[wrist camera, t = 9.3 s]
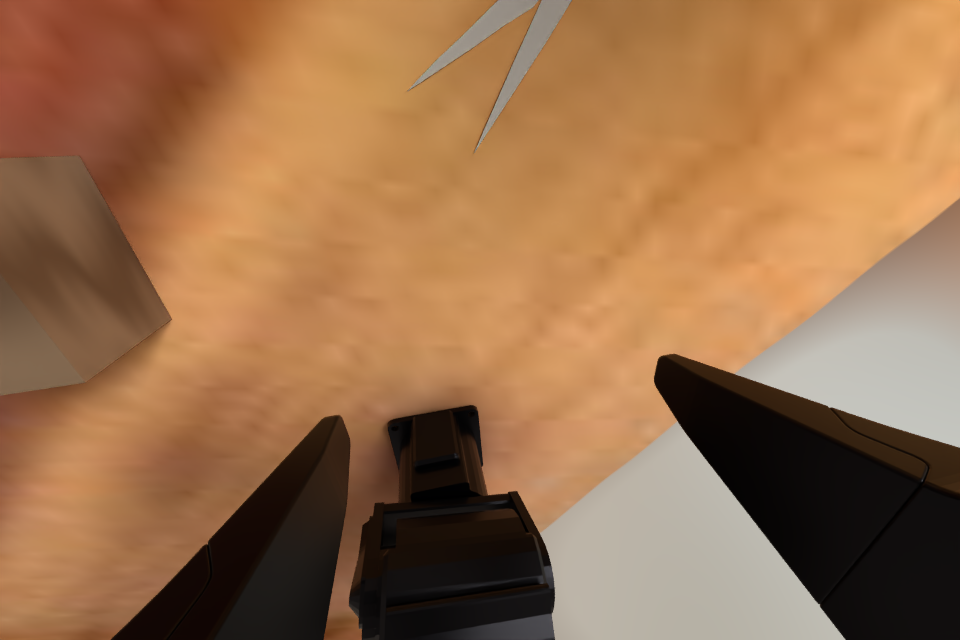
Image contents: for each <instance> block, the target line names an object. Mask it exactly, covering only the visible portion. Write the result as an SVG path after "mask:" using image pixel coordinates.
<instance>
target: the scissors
mask: <svg viewBox="0 0 960 640" xmlns="http://www.w3.org/2000/svg"><path fill="white" fill-rule="evenodd" d="M571 1H572V0H542V1H541V3H540V5H539V8H538V10H537V12H536V14H535V16H534V18H533V21H532V23H531V25H530V27H529V29H528V32H527V34H526V36H525V38H524V40H523V43H522V45H521V47H520V49H519V51H518V54H517V56H516V58H515V60H514V63H513V65H512V67H511V69H510V72H509V74H508V76H507V79H506V81H505V83H504V85H503V88H502V90H501V92H500V95H499V97H498V99H497V102H496V104H495V106H494V108H493V111H492V113H491V115H490V118H489V120H488V122H487V124H486V127H485V129H484V131H483V134H482V136H481V138H480V140H479V143H478V145H477V147H476V150H477V148H478V147H479V145H480V143H481V142H482V140H483V139H484V137H485V136H486V134H487V133H488V131H489V130H490V128H491V127H492V125H493V123H494V122H495V120H496V119H497V117H498V116H499V114H500V113H501V111H502V110H503V108H504V106H505V105H506V103H507V102H508V100H509V99H510V97H511V96H512V94H513V93H514V91H515V90H516V88H517V86H518V85H519V83H520V82H521V80H522V79H523V77H524V76H525V74H526V73H527V71H528V69H529V68H530V66H531V65H532V63H533V62H534V60H535V59H536V57H537V56H538V54H539V52H540V51H541V49H542V48H543V46H544V45H545V43H546V42H547V40H548V38H549V37H550V35H551V33H552V32H553V30H554V29H555V27H556V25H557V24H558V22H559V20H560V19H561V17H562V15H563V14H564V12H565V11H566V9H567V7H568V6H569V4H570V2H571ZM537 2H538V0H498V1H497V2H496V3H495V4H494V5H493V6H492V7H491V8H490V9H489V10H488V11H487V12H486V13H485V14H484V15H483V16H482V17H481V18H480V19H479V20H478V21H477V22H476V23H475V24H474V25H473V26H472V27H471V28H470V29H469V30H468V31H467V32H466V33H465V34H464V35H462V36H461V37H460V38H459V39H458V40H457V41H456V42H455V43H454V44H453V45H452V46H451V47H450V48H449V49H448V50H447V51H446V52H445V53H444V54H442V55H441V56H440V57H439V58H438V59H437V60H436V61H435V62H434V63H433V64H432V65H431V66H430V67H429V68H428V69H427V71H426V72H425V73H424V74H423V75H422V76H421V77H420V78H419V79H418V80H417V81H416V82H415V83H414V84H413V86H412V87H411V88H413V87H415V86H416V85H418V84H419V83H421V82H422V81H424V80H425V79H427V78H428V77H430V76H431V75H433V74H434V73H436V72H437V71H439V70H440V69H442V68H443V67H445V66H446V65H448V64H449V63H451V62H452V61H454V60H455V59H457V58H458V57H460V56H461V55H463V54H464V53H466V52H467V51H469V50H470V49H472V48H473V47H475V46H476V45H478V44H479V43H480V42H482V41H483V40H485V39H486V38H487V37H489V36H490V35H491V34H493V33H494V32H496V31H497V30H498V29H500V28H501V27H503V26H504V25H506V24H507V23H509V22H511V21H512V20H514V19H515V18H517V17H519V16H520V15H522V14H523V13H525V12H527V11H528V10H530V9H531V8H533V7H534V5H535V4H536V3H537ZM411 88H410V89H411ZM410 89H409V90H410ZM476 150H475V151H476ZM474 153H475V152H474Z"/></svg>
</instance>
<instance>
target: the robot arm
mask: <svg viewBox="0 0 960 640" xmlns="http://www.w3.org/2000/svg"><path fill="white" fill-rule="evenodd" d="M654 383H655V386H656V388H657V389H658V391H659V393H660V394H661V396H662V397H663V399H664V400H665V402H666V404H667V405H668V407H669V408H670V410H671V411H672V413H673V415H674V416H675V418H676V419H677V421H678V423H679V424H680V426H681V427H682V429H683V430H684V431H685V433H686V434H687V435H688V437H689V438H690V440H691V441H692V442H693V443H694V445H695V446H696V447H697V449H698V450H699V451H700V452H701V454H702V455H703V456H704V457H705V459H706V460H707V461H708V463H709V464H710V465H711V466H712V468H713V469H714V470H715V472H716V473H717V474H718V476H719V477H720V478H721V479H722V481H723V482H724V483H725V485H726V486H727V487H728V488H729V490H730V491H731V492H732V493H733V495H734V496H735V497H736V499H737V500H738V501H739V503H740V504H741V505H742V506H743V508H744V509H745V510H746V512H747V513H748V514H749V515H750V516H751V518H752V519H753V521H754V522H755V523H756V525H757V526H758V527H759V528H760V530H761V531H762V532H763V533H764V535H765V536H766V537H767V539H768V540H769V541H770V543H771V544H772V545H773V546H774V548H775V549H776V550H777V551H778V553H779V554H780V555H781V557H782V558H783V559H784V561H785V562H786V563H787V564H788V566H789V567H790V568H791V570H792V571H793V572H794V573H795V575H796V576H797V577H798V579H799V580H800V581H801V582H802V584H803V585H804V586H805V588H806V589H807V590H808V591H809V592H810V594H811V595H812V597H813V598H814V599H815V601H816V602H817V603H818V604H820V607H821V609H822V610H823V611H824V612H825V614H826V615H827V616H828V618H829V619H830V620H831V621H832V623H833V624H834V625H835V627H836V628H837V629H838V631H839V632H840V633H841V634H842V636H843V637H844V638H845V639H846V640H960V448H958V447H955V446H952V445H949V444H945V443H942V442H939V441H935V440H932V439H929V438H925V437H921V436H919V435H915V434H912V433H909V432H906V431H902V430H899V429H896V428H892V427H889V426H886V425H883V424H880V423H877V422H874V421H871V420H868V419H865V418H862V417H858V416H856V415H853V414H849V413H846V412H844V411H841V410H838V409H835V408H829V407H828V406H826V405H823V404H820V403H817V402H814V401H811V400H808V399H805V398H803V397H800V396H797V395H794V394H791V393H788V392H785V391H782V390H779V389H776V388H773V387H770V386H767V385H764V384H762V383H759V382H756V381H753V380H750V379H747V378H744V377H741V376H738V375H735V374H732V373H729V372H726V371H723V370H720V369H718V368H715V367H712V366H709V365H706V364H703V363H700V362H697V361H694V360H691V359H688V358H685V357H682V356H679V355H677V354H669V355H663V356H661V357H659V359H658V361H657V366H656V371H655V375H654ZM469 412H473V413H469ZM393 426H397V427H393ZM388 432H389V436H390V439H391V443H392V447H393V450H394V454H395V458H396V461H397V465H398V469H399V503H391V504H384V502H383V503H375V506H374V514H373V516H370V519H369V521H368V522H367V523H365V524H364V525H363V526H362V534H361V543H360V550H359V556H358V561H357V565H356V569H355V573H354V577H353V582H352V586H351V590H350V597H349V607H350V608H351V609H352V610H353V611H354V613H355V614H356V615H357V616H358V618H359V629H362V640H555V637H554V630H553V622H552V612H553V609H554V601H555V588H554V578H553V572H552V567H551V562H550V559H549V555H548V552H547V549H546V546H545V543H544V542H543V539H542V537H541V535H540V533H539V531H538V530H537V528H536V526H535V524H534V522H533V520H532V518H531V516H530V515H529V513H528V511H527V509H526V507H525V505H524V503H523V501H522V500H521V498H520V496H519V494H518V492H517V491H513V492H508V494H496V495H488V494H487V489H486V485H485V480H484V476H483V471H482V466H483V459H482V448H481V438H480V427H479V416H478V410H477V407H475V406H473V405H470V406H464V407H459V408H453V409H448V410H442V411H437V412H431V413H426V414H420V415H415V416H409V417H404V418H398V419H393V420H391V421H390V422H389V423H388ZM349 461H350V438H349V435H348V432H347V429H346V426H345V424H344V421H343V418H342V417H341V416H340V415H334V416H329V417H325V418H323V419H322V420H321V421H320V422H319V423H318V424H317V425H316V426H315V427H314V428H313V429H312V430H311V431H310V432H309V433H308V435H307V436H306V437H305V438H304V439H303V440H302V441H301V442H300V443H299V444H298V445H297V446H296V447H295V448H294V450H293V451H292V452H291V453H290V454H289V455H288V456H287V457H286V458H285V459H284V460H283V461H282V462H281V463H280V465H279V466H278V467H277V468H276V469H275V470H274V471H273V472H272V473H271V474H270V475H269V476H268V477H267V478H266V480H265V481H264V482H263V483H262V484H261V485H260V486H259V487H258V488H257V489H256V490H255V491H254V492H253V493H252V495H251V496H250V497H249V498H248V499H247V500H246V501H245V502H244V503H243V504H242V505H241V506H240V507H239V508H238V510H237V511H236V512H235V513H234V514H233V515H232V516H231V517H230V518H229V519H228V520H227V521H226V522H225V523H224V525H223V526H222V527H221V528H220V529H219V530H218V531H217V532H216V533H215V534H214V535H213V536H212V537H211V538H210V540H209V541H208V544H206V545H204V546H203V547H202V548H201V549H200V550H199V551H198V552H197V553H196V554H195V555H194V557H193V558H192V559H191V560H190V561H189V562H188V563H187V564H186V565H185V566H184V567H183V568H182V569H181V570H180V571H179V572H178V573H177V574H176V575H175V576H174V577H173V579H172V580H171V581H170V582H169V583H168V584H167V585H166V586H165V587H164V588H163V589H162V590H161V591H160V592H159V593H158V594H157V595H156V596H155V597H154V598H153V599H152V600H151V601H150V602H149V603H148V604H147V605H146V606H145V607H144V608H143V609H142V610H141V611H140V612H139V613H138V614H137V615H136V616H135V617H134V618H133V619H132V620H131V621H130V622H128V623H127V624H126V625H125V626H124V627H123V628H122V629H121V630H120V631H119V632H118V633H117V634H116V635H115V636H114V637H113V638H112V639H111V640H323V639H324V633H325V628H326V622H327V616H328V610H329V605H330V599H331V593H332V587H333V582H334V576H335V570H336V564H337V559H338V553H339V547H340V541H341V536H342V530H343V524H344V518H345V513H346V506H347V495H348V479H349Z"/></svg>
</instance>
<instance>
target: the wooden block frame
mask: <svg viewBox="0 0 960 640" xmlns="http://www.w3.org/2000/svg"><path fill="white" fill-rule="evenodd" d="M170 320H171V317H170V315H169V313H168V311H167V310H166V308H165V306H164V304H163V303H162V301H161V299H160V297H159V296H158V294H157V292H156V290H155V289H154V287H153V285H152V283H151V282H150V280H149V278H148V276H147V274H146V273H145V271H144V269H143V267H142V266H141V264H140V262H139V260H138V259H137V257H136V255H135V253H134V252H133V250H132V248H131V246H130V244H129V243H128V241H127V239H126V237H125V236H124V234H123V232H122V230H121V229H120V227H119V225H118V223H117V222H116V220H115V218H114V216H113V215H112V213H111V211H110V209H109V207H108V206H107V204H106V202H105V200H104V199H103V197H102V195H101V193H100V192H99V190H98V188H97V186H96V185H95V183H94V181H93V179H92V177H91V176H90V174H89V172H88V170H87V169H86V167H85V165H84V163H83V162H82V160H81V158H80V156H52V157H23V158H0V395H7V394H13V393H20V392H27V391H33V390H40V389H47V388H53V387H60V386H67V385H73V384H80V383H86V382H87V381H88V380H90V379H91V378H93V377H94V376H95V375H97V374H98V373H99V372H101V371H102V370H103V369H105V368H106V367H107V366H109V365H110V364H112V363H113V362H114V361H116V360H117V359H118V358H120V357H121V356H122V355H124V354H125V353H126V352H128V351H129V350H131V349H132V348H133V347H135V346H136V345H137V344H139V343H140V342H141V341H143V340H144V339H145V338H147V337H148V336H150V335H151V334H152V333H154V332H155V331H156V330H158V329H159V328H160V327H162V326H163V325H164V324H166V323H167V322H169V321H170Z"/></svg>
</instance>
